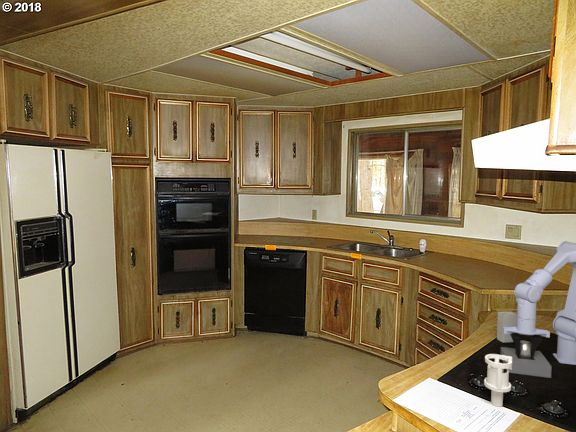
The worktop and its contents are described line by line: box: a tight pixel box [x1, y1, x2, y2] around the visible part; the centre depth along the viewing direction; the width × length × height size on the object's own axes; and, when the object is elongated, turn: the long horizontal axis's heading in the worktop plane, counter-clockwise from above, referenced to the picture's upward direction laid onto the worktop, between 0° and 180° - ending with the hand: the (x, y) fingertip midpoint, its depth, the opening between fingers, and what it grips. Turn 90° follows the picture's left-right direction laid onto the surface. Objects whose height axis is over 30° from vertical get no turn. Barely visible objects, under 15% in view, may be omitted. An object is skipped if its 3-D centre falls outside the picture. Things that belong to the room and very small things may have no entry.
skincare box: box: [496, 310, 517, 343], centre depth 166 cm, size 6×4×12 cm
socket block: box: [500, 346, 552, 379], centre depth 142 cm, size 13×13×4 cm
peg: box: [518, 339, 532, 360], centre depth 142 cm, size 4×4×7 cm
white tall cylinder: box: [483, 353, 512, 408], centre depth 117 cm, size 7×7×15 cm
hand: (524, 354), depth 142 cm, fingers closed on peg, 4 cm apart
